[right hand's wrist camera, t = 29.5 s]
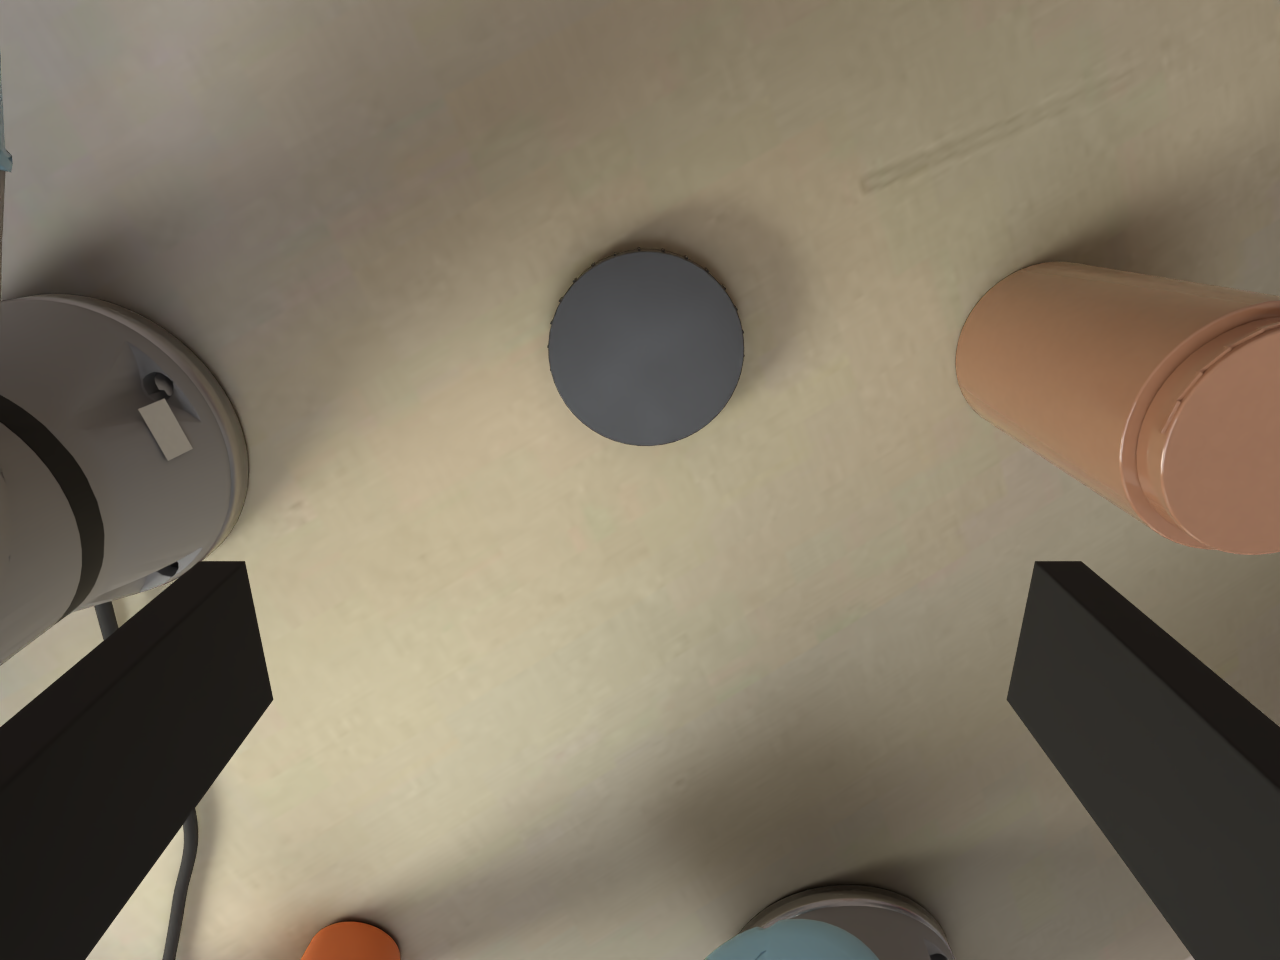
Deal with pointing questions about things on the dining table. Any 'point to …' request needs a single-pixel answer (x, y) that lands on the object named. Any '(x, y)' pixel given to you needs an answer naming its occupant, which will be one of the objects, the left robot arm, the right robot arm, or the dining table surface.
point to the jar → (1139, 394)
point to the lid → (646, 347)
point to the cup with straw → (351, 943)
